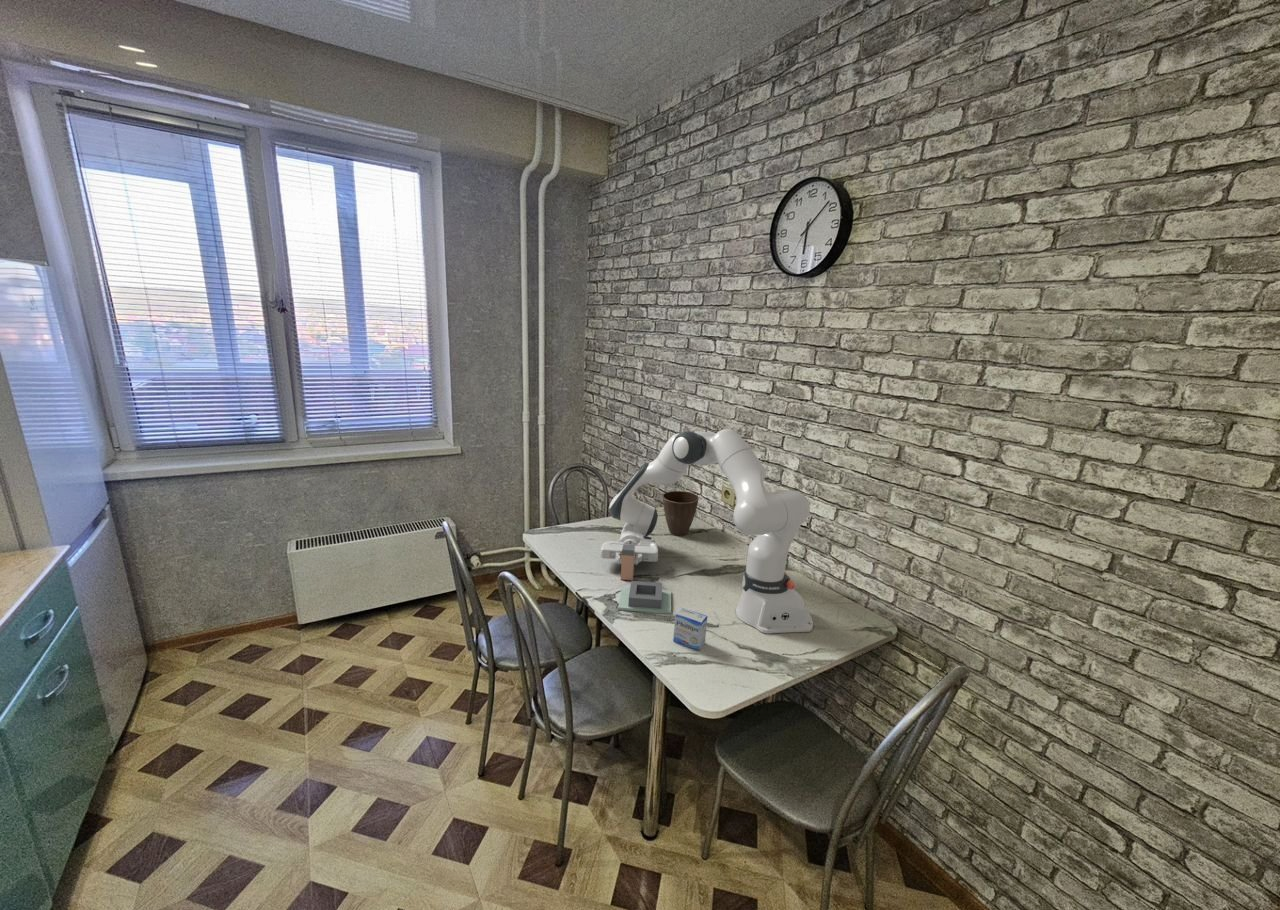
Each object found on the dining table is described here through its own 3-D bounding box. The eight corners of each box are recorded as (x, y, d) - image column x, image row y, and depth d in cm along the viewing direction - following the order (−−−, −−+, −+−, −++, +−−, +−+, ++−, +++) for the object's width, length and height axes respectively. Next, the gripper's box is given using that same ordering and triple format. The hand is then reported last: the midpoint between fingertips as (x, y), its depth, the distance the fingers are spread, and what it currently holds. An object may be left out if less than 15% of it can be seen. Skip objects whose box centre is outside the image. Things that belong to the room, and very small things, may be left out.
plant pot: (656, 536, 201) (658, 499, 197) (665, 523, 215) (667, 488, 211) (692, 542, 197) (695, 505, 193) (698, 528, 211) (701, 493, 207)
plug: (633, 574, 169) (634, 545, 166) (632, 580, 165) (634, 550, 162) (621, 573, 169) (623, 544, 166) (620, 579, 165) (622, 549, 162)
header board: (670, 592, 159) (671, 582, 158) (670, 613, 147) (671, 602, 146) (621, 589, 159) (622, 578, 158) (618, 609, 148) (618, 598, 147)
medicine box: (672, 641, 134) (674, 614, 132) (679, 633, 138) (681, 606, 136) (699, 651, 131) (702, 623, 128) (705, 642, 135) (707, 614, 132)
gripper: (602, 534, 178) (597, 551, 164) (659, 538, 177) (658, 555, 163) (602, 550, 179) (596, 568, 166) (658, 554, 178) (657, 572, 165)
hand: (627, 562), depth 165 cm, fingers closed on plug, 4 cm apart
